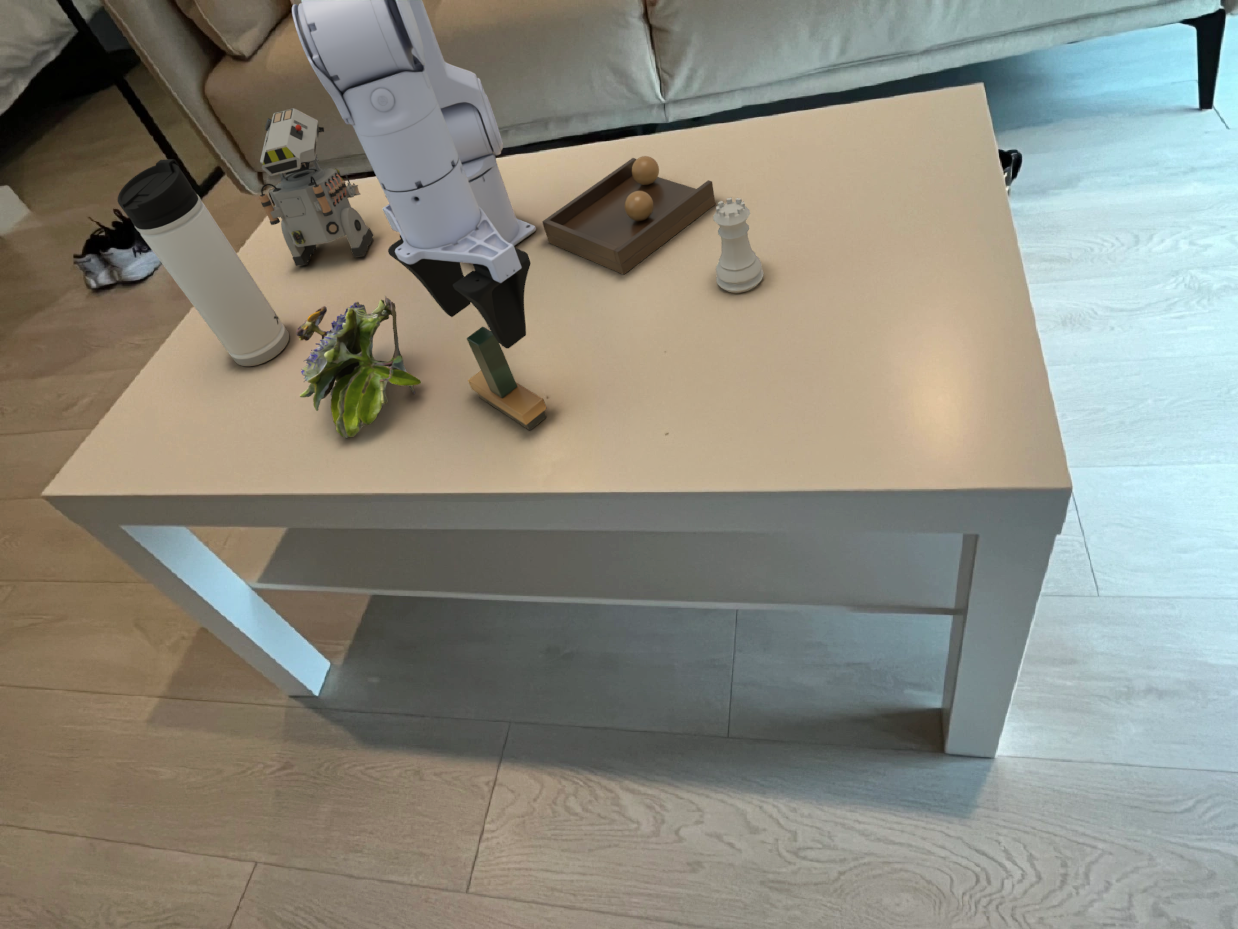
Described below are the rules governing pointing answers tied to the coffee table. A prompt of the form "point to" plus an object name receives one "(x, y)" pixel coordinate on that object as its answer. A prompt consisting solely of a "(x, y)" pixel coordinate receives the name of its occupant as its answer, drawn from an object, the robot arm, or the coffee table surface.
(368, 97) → the robot arm
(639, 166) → the cork ball
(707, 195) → the tray
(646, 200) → the cork ball
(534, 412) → the brush
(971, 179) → the coffee table surface
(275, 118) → the figurine
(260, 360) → the travel mug
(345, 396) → the passion flower
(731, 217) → the rook chess piece
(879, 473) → the coffee table surface
